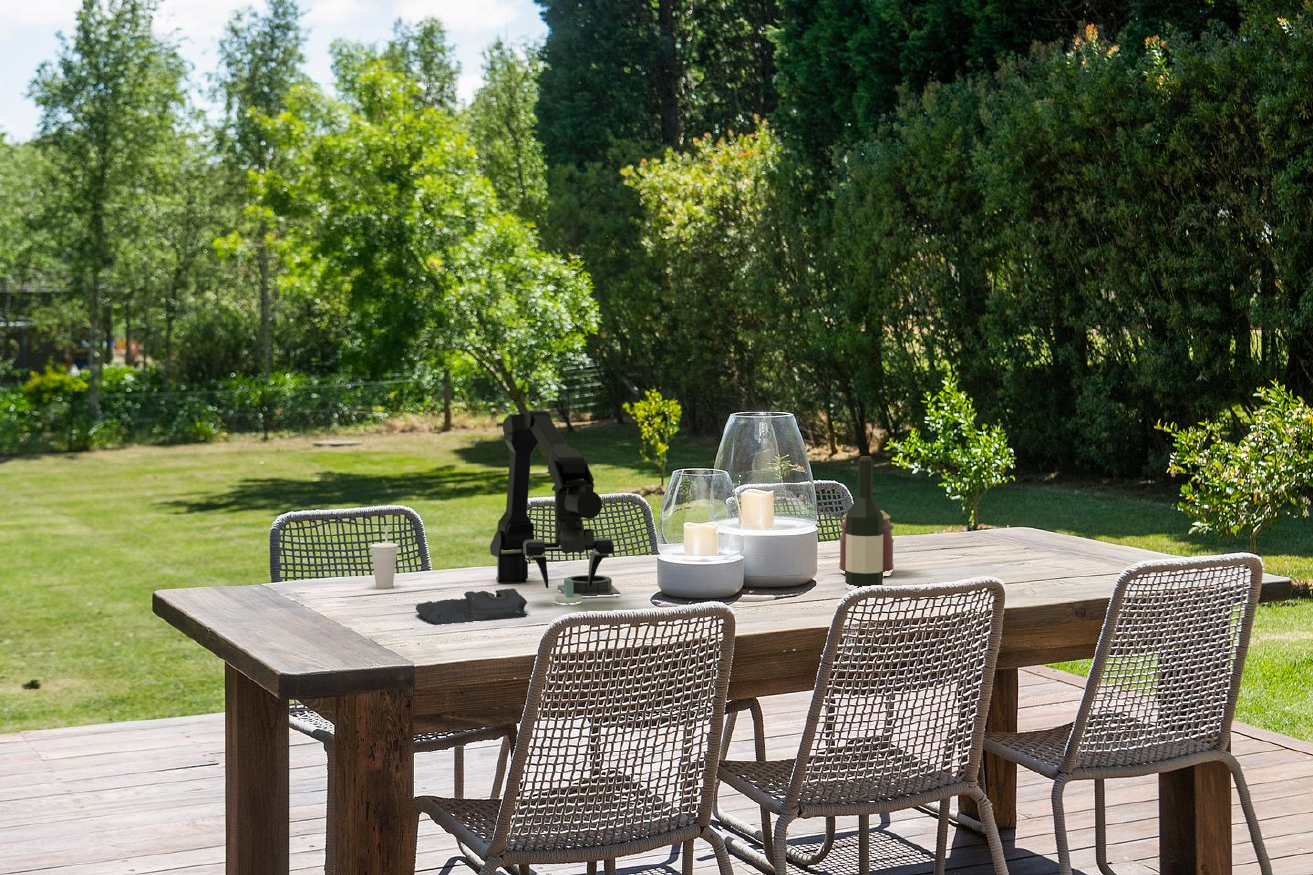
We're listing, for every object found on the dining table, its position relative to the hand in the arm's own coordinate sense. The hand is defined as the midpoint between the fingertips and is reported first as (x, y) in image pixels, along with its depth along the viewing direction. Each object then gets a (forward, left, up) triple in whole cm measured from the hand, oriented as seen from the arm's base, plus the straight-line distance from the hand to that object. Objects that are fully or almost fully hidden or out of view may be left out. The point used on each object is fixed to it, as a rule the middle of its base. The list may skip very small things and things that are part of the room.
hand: (568, 586), depth 283 cm
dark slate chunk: (-21, -9, -4) cm, 23 cm away
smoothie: (-38, +27, -4) cm, 47 cm away
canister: (+76, +22, -4) cm, 79 cm away
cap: (0, 0, -4) cm, 4 cm away
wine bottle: (+68, +3, -4) cm, 68 cm away
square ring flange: (+6, +10, -3) cm, 12 cm away
